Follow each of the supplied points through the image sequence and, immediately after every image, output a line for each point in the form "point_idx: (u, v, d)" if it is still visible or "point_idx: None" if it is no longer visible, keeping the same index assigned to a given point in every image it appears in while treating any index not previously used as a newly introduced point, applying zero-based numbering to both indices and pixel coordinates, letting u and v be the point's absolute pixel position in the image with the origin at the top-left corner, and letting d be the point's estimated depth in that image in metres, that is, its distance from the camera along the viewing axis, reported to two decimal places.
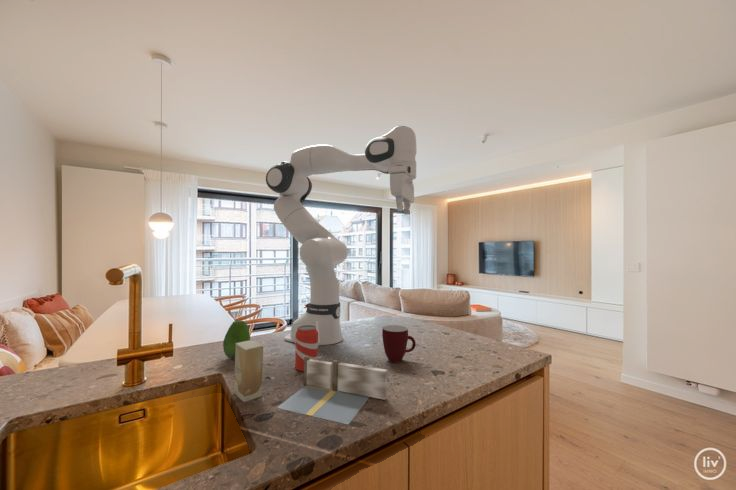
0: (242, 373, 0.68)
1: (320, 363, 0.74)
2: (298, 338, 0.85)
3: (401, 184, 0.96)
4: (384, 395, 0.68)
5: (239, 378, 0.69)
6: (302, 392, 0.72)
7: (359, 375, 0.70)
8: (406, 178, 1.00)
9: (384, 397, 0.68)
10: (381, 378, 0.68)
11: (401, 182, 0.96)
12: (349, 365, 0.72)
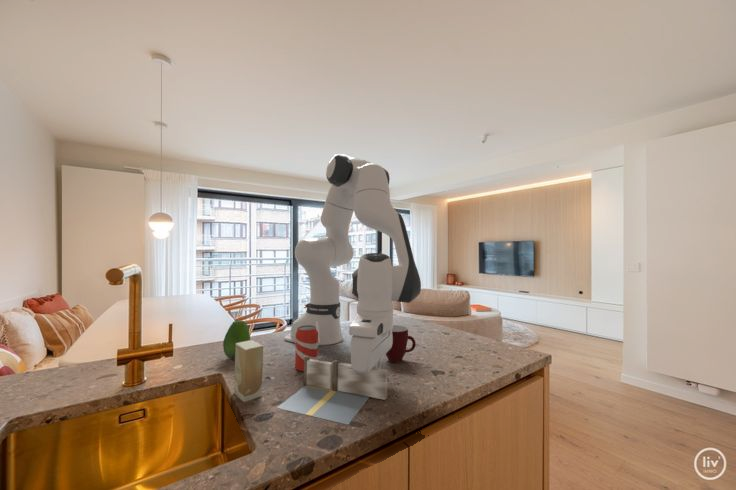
0: (242, 373, 0.68)
1: (320, 363, 0.74)
2: (298, 338, 0.85)
3: (367, 360, 0.63)
4: (384, 395, 0.68)
5: (239, 378, 0.69)
6: (302, 392, 0.72)
7: (359, 375, 0.70)
8: (376, 340, 0.67)
9: (384, 397, 0.68)
10: (381, 378, 0.68)
11: (367, 357, 0.63)
12: (349, 365, 0.72)
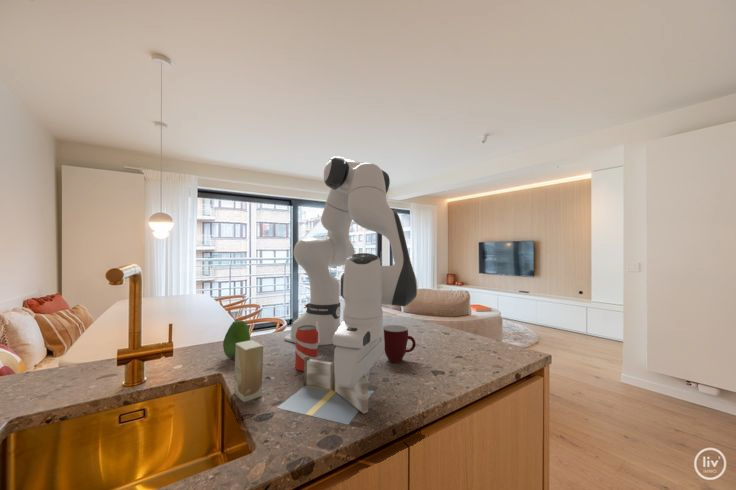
0: (242, 373, 0.68)
1: (320, 363, 0.74)
2: (298, 338, 0.85)
3: (351, 374, 0.57)
4: (363, 408, 0.62)
5: (239, 378, 0.69)
6: (302, 392, 0.72)
7: None
8: (363, 350, 0.61)
9: (363, 410, 0.62)
10: (361, 389, 0.63)
11: (351, 370, 0.57)
12: None
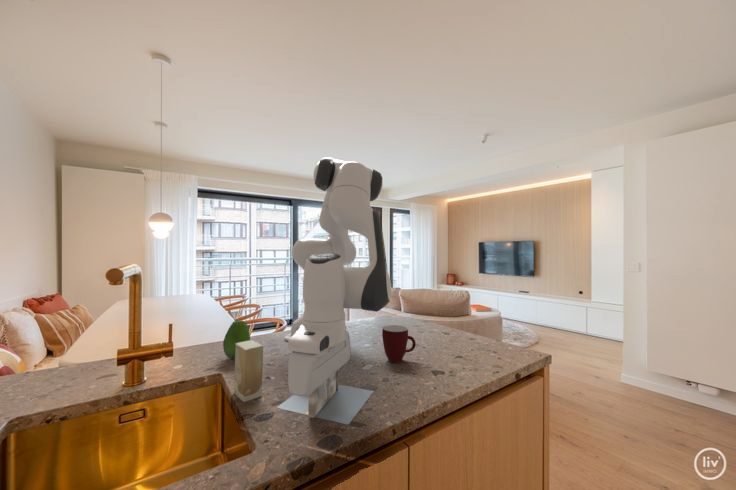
0: (242, 373, 0.68)
1: None
2: None
3: (306, 381, 0.53)
4: None
5: (239, 378, 0.69)
6: None
7: None
8: (321, 355, 0.57)
9: None
10: None
11: (306, 378, 0.53)
12: None
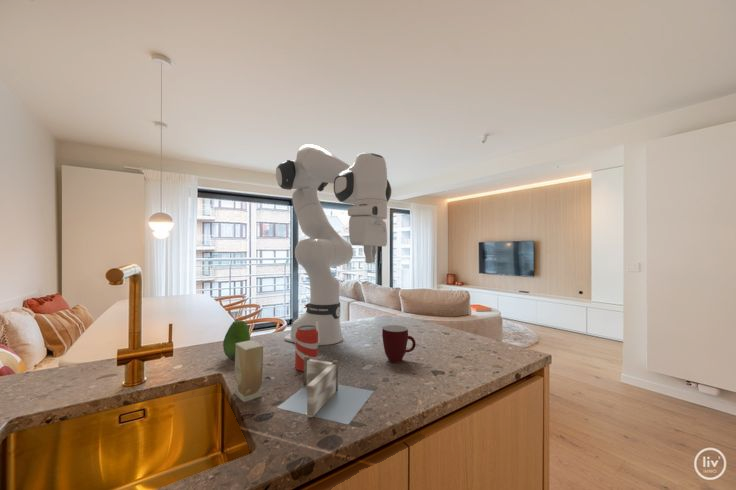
0: (242, 373, 0.68)
1: (320, 363, 0.74)
2: (298, 338, 0.85)
3: (363, 232, 0.72)
4: None
5: (239, 378, 0.69)
6: (302, 392, 0.72)
7: None
8: (372, 221, 0.76)
9: None
10: None
11: (363, 229, 0.72)
12: (328, 368, 0.70)
